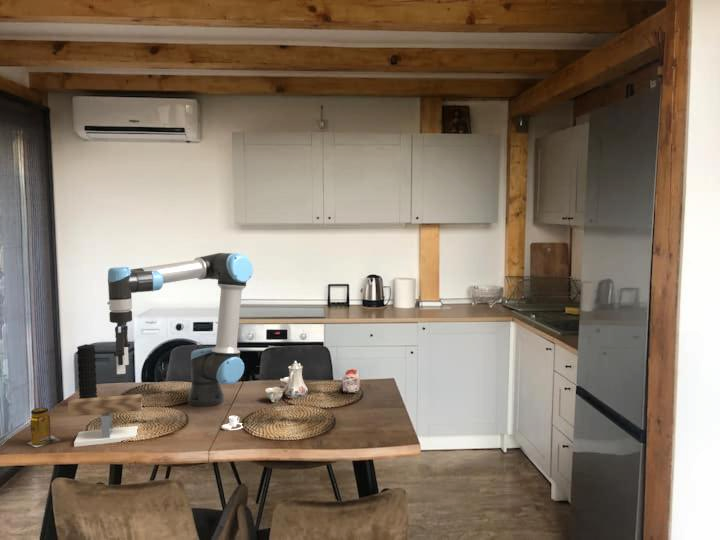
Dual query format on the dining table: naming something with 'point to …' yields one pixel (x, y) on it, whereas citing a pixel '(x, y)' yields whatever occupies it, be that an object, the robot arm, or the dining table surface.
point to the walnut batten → (104, 405)
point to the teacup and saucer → (232, 423)
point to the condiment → (40, 428)
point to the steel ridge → (106, 425)
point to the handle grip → (87, 371)
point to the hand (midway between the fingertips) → (122, 369)
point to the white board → (96, 438)
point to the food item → (351, 381)
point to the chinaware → (289, 385)
